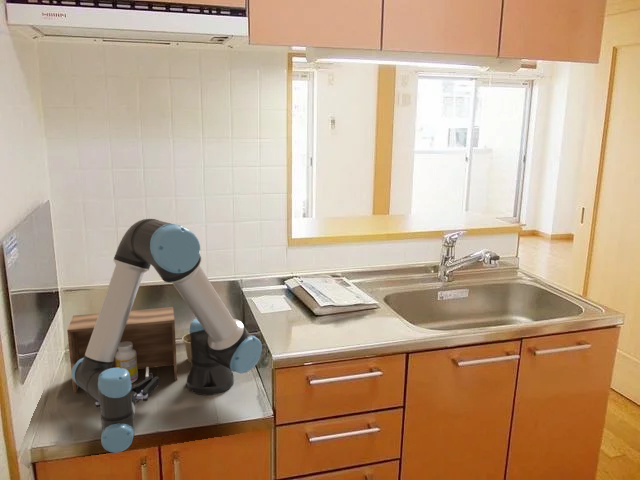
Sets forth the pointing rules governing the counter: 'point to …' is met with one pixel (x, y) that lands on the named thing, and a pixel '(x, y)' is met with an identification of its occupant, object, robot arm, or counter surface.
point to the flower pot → (187, 345)
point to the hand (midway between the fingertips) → (124, 373)
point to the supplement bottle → (127, 359)
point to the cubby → (131, 337)
